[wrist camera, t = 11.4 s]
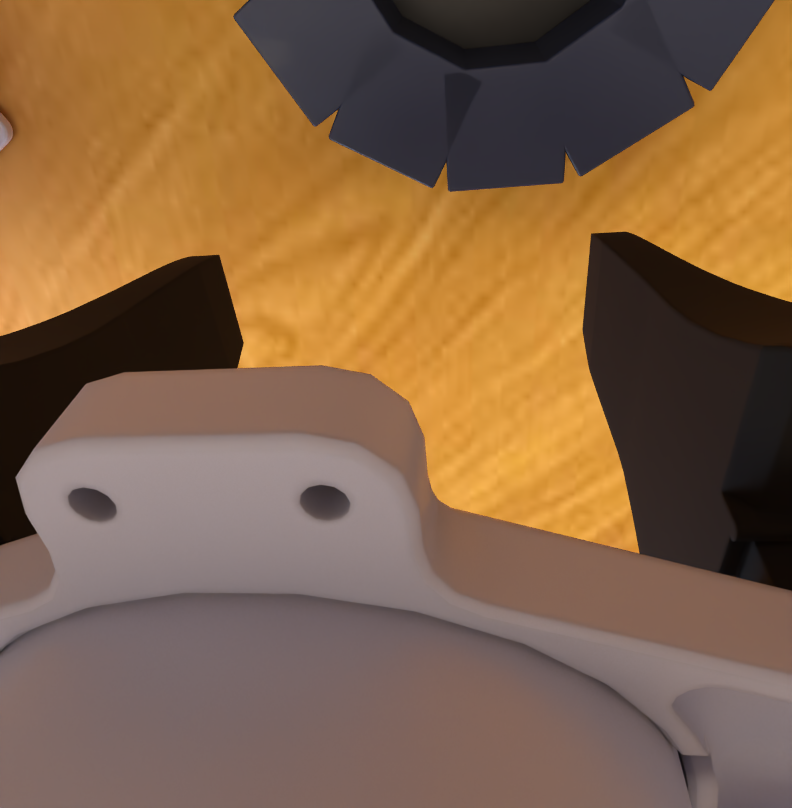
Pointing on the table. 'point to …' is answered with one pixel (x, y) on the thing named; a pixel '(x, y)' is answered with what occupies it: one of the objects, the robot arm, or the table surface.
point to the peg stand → (488, 19)
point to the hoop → (496, 82)
